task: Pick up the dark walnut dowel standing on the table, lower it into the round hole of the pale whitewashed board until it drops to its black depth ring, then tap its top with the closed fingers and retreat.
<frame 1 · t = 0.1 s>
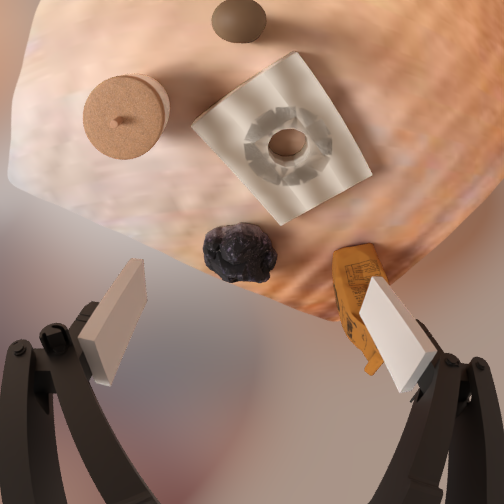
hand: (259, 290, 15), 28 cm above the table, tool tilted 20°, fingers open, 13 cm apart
crystal cluster: (238, 245, 51), on the table
peg: (244, 28, 26), on the table
board: (286, 138, 37), on the table
lidded jar: (142, 103, 33), on the table
coffee package: (351, 263, 54), on the table
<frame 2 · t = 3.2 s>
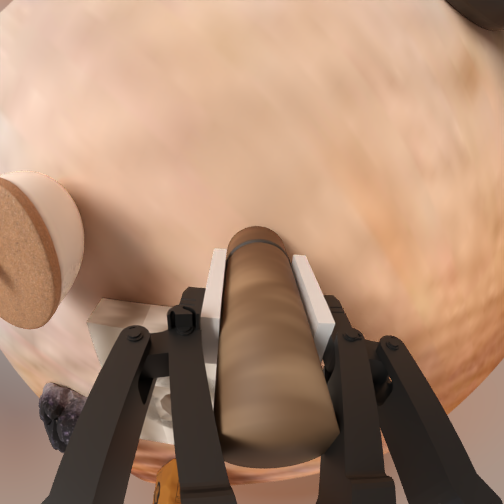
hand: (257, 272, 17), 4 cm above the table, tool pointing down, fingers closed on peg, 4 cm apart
crystal cluster: (79, 406, 31), on the table
peg: (255, 247, 21), on the table, touching gripper
board: (191, 382, 27), on the table
lidded jar: (54, 220, 19), on the table
coffee package: (185, 466, 39), on the table
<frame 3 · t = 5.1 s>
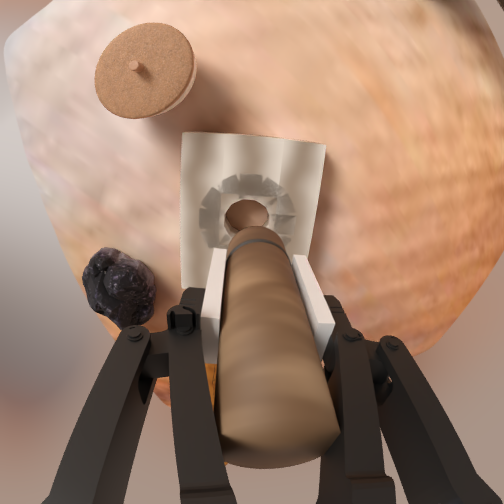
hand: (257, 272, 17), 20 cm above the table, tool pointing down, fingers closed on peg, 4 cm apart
crystal cluster: (122, 281, 41), on the table
peg: (255, 247, 21), point 16 cm above the table, touching gripper
board: (247, 212, 36), on the table
lidded jar: (161, 78, 28), on the table
coffee package: (218, 363, 49), on the table
when the fingers open (5 cm above the table, at t = 7.3 s): peg drops 2 cm, resting in board.
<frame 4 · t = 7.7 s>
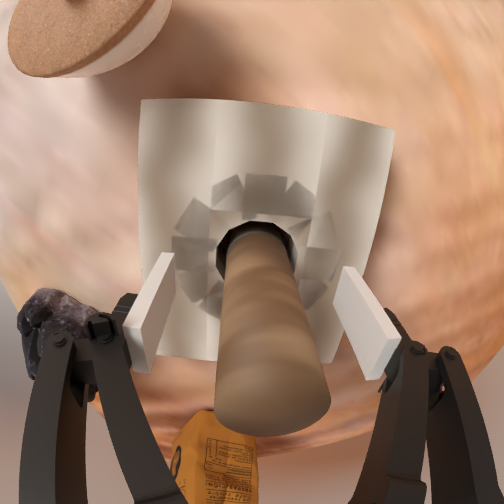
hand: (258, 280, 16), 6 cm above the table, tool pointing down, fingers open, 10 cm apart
crystal cluster: (75, 330, 26), on the table
peg: (254, 239, 22), resting in board
board: (254, 239, 22), on the table
lidded jar: (121, 26, 14), on the table
coffee package: (211, 426, 34), on the table
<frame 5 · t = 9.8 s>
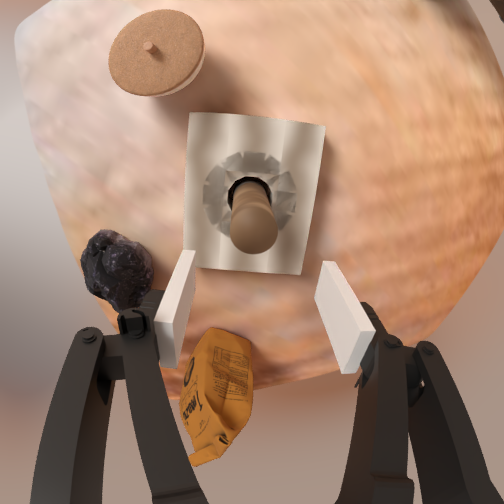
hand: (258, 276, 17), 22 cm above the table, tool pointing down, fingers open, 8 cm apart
crystal cluster: (120, 264, 41), on the table
peg: (249, 191, 37), resting in board
board: (249, 191, 37), on the table
lidded jar: (170, 64, 29), on the table
coffee package: (217, 349, 49), on the table
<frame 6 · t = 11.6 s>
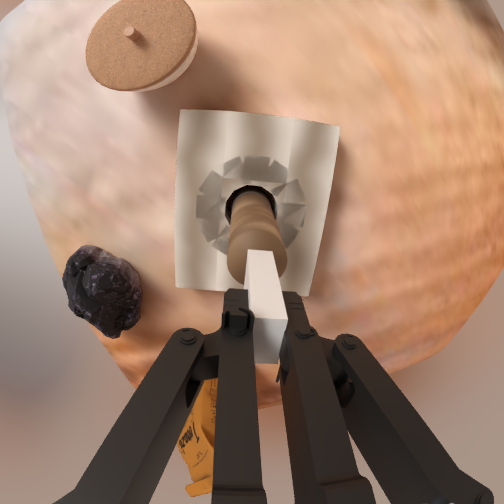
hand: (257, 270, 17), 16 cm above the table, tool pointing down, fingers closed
crystal cluster: (106, 282, 36), on the table
peg: (250, 202, 32), resting in board
board: (250, 202, 32), on the table
lidded jar: (159, 55, 24), on the table
coffee package: (215, 371, 44), on the table
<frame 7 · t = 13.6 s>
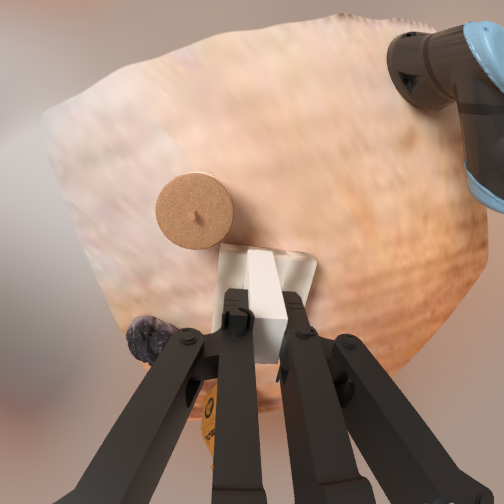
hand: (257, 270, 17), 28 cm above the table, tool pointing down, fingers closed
crystal cluster: (156, 336, 56), on the table
board: (258, 297, 52), on the table
lidded jar: (200, 198, 44), on the table
coffee package: (226, 389, 64), on the table
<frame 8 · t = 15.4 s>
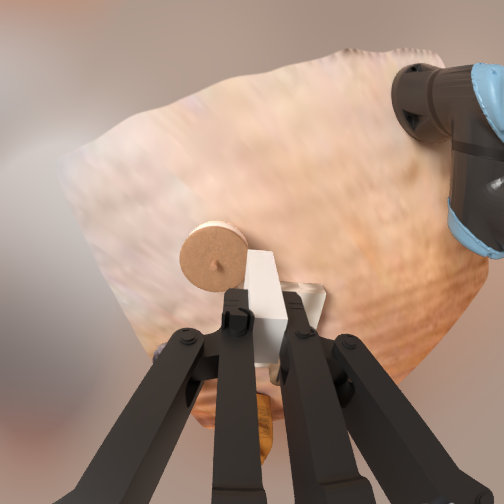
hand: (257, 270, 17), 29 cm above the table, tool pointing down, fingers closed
peg: (273, 323, 56), resting in board
board: (273, 323, 56), on the table
lidded jar: (218, 241, 49), on the table
coffee package: (246, 400, 69), on the table
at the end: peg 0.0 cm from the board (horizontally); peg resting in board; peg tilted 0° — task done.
